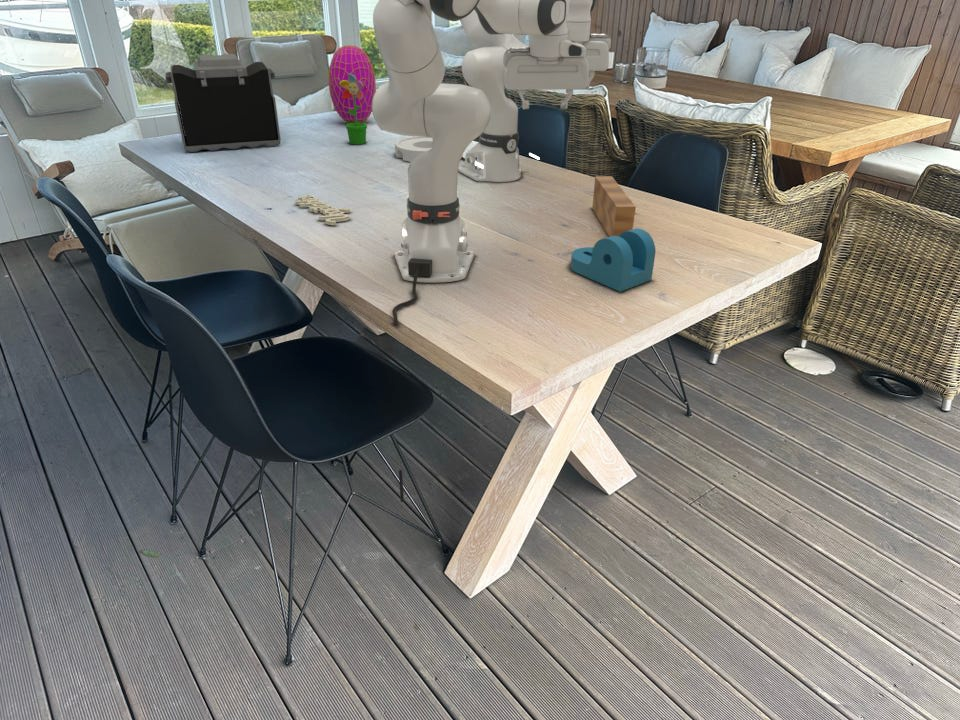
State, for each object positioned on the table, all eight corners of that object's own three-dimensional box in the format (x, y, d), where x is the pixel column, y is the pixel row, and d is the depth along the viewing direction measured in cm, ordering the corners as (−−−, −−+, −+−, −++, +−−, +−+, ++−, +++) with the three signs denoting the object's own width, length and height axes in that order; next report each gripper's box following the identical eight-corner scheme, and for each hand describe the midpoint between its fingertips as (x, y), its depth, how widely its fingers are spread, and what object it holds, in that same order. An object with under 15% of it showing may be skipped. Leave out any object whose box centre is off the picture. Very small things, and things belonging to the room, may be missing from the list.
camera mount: (651, 279, 153) (658, 234, 148) (620, 291, 148) (626, 245, 142) (592, 255, 165) (596, 213, 160) (561, 266, 160) (564, 222, 154)
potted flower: (342, 144, 260) (336, 73, 247) (351, 139, 266) (346, 70, 254) (365, 146, 257) (360, 74, 245) (374, 141, 264) (369, 71, 251)
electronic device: (278, 133, 274) (267, 51, 259) (285, 146, 256) (274, 59, 241) (180, 140, 262) (162, 54, 247) (180, 153, 244) (161, 62, 229)
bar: (631, 242, 174) (635, 206, 169) (612, 242, 174) (616, 206, 169) (608, 208, 197) (611, 176, 193) (592, 208, 197) (595, 176, 192)
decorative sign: (363, 215, 186) (329, 222, 181) (363, 219, 186) (330, 226, 181) (319, 192, 204) (287, 198, 198) (319, 195, 204) (288, 201, 199)
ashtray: (453, 164, 236) (453, 152, 234) (387, 161, 239) (387, 149, 237) (465, 148, 256) (465, 137, 254) (404, 145, 259) (404, 134, 257)
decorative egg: (362, 116, 305) (357, 42, 290) (386, 123, 292) (382, 46, 277) (324, 121, 294) (316, 45, 279) (347, 129, 281) (340, 49, 266)
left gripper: (504, 49, 157) (503, 111, 165) (593, 48, 159) (587, 110, 166) (502, 45, 163) (501, 106, 170) (587, 45, 164) (582, 105, 171)
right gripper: (609, 32, 186) (604, 86, 193) (534, 31, 185) (531, 86, 192) (614, 34, 180) (608, 90, 187) (537, 34, 179) (534, 90, 186)
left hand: (544, 108), depth 168 cm, fingers open, 8 cm apart
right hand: (569, 88), depth 189 cm, fingers open, 8 cm apart
